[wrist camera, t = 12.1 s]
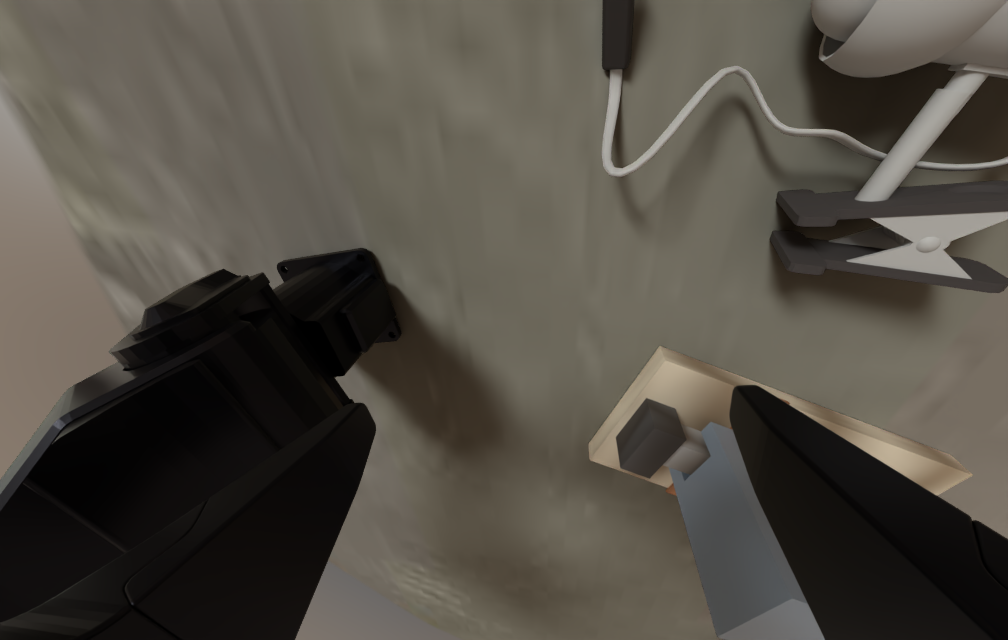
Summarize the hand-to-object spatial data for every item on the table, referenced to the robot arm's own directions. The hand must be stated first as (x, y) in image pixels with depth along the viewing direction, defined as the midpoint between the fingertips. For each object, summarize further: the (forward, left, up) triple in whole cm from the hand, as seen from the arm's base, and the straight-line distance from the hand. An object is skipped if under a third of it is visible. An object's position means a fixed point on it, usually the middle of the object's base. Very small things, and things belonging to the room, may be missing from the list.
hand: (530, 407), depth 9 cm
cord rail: (+12, -17, -13) cm, 25 cm away
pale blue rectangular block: (+9, -16, -11) cm, 21 cm away
